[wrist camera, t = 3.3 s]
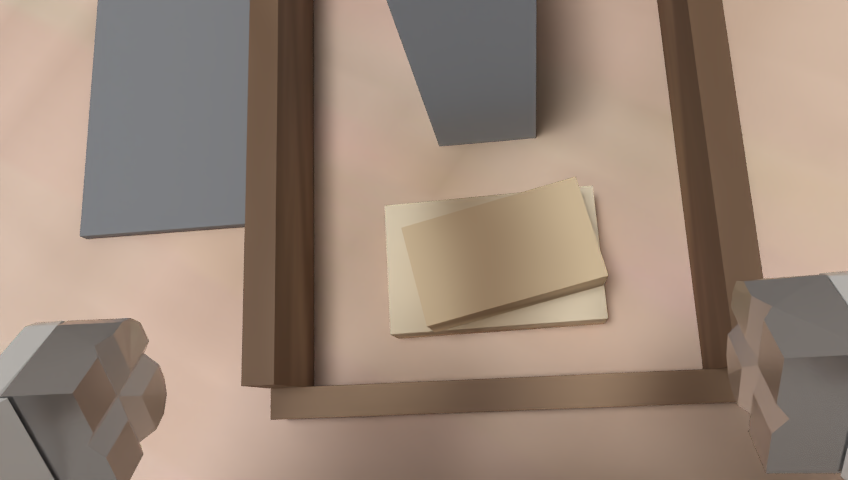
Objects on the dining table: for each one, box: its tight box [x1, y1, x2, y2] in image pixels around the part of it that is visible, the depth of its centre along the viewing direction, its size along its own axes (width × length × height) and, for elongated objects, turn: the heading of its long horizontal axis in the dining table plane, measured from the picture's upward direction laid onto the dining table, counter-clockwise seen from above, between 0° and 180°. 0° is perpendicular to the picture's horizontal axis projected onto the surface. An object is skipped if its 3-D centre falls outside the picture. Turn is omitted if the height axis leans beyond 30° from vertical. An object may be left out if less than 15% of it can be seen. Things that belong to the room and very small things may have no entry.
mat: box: [80, 0, 250, 239], centre depth 29 cm, size 7×12×1 cm, turn 2°
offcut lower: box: [385, 186, 608, 338], centre depth 25 cm, size 7×4×2 cm, turn 93°
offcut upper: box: [401, 177, 608, 332], centre depth 23 cm, size 6×3×2 cm, turn 105°
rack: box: [241, 0, 763, 420], centre depth 25 cm, size 15×21×4 cm
